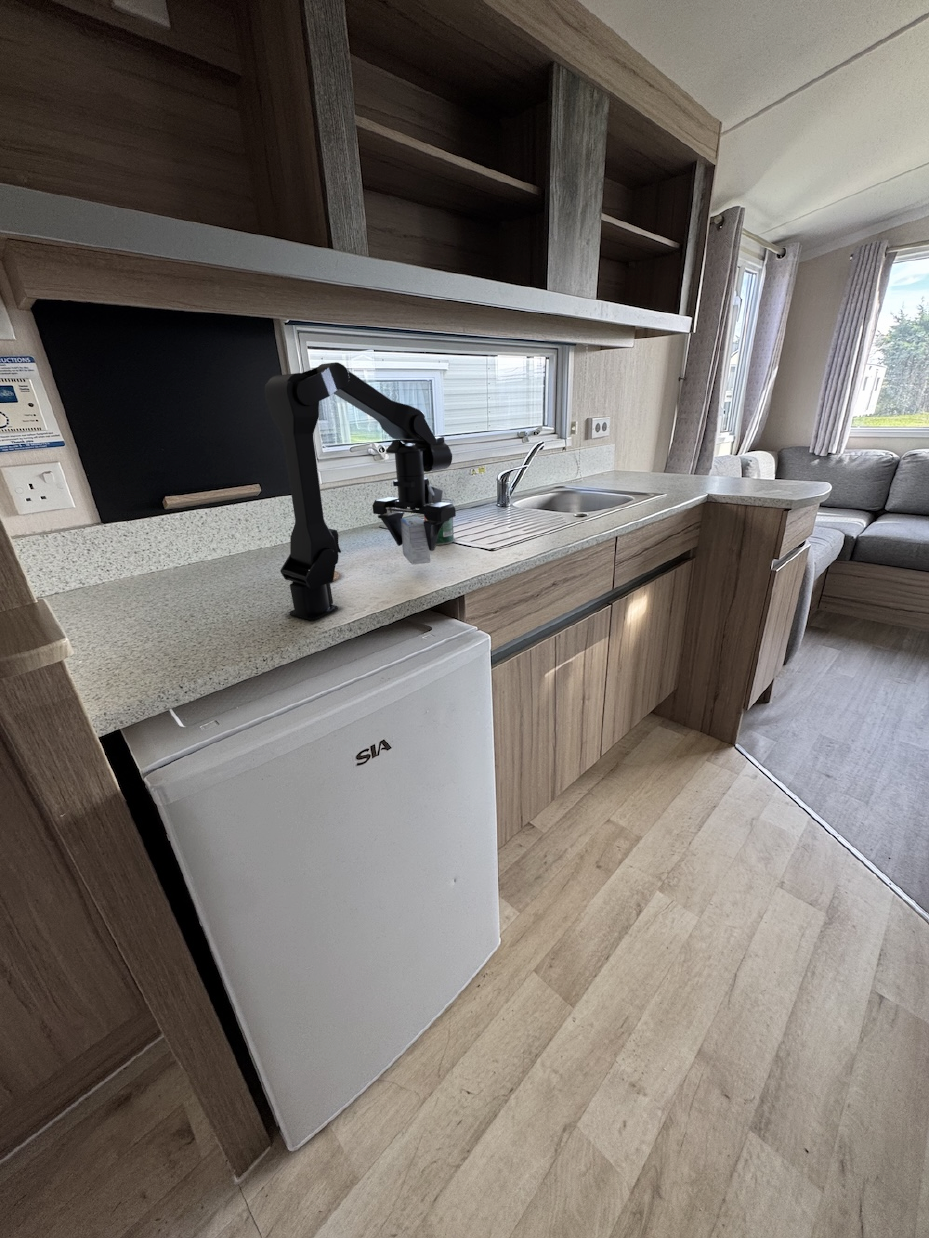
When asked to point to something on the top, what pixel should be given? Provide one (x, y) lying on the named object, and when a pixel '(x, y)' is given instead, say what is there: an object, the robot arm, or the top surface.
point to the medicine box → (414, 540)
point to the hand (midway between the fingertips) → (415, 547)
